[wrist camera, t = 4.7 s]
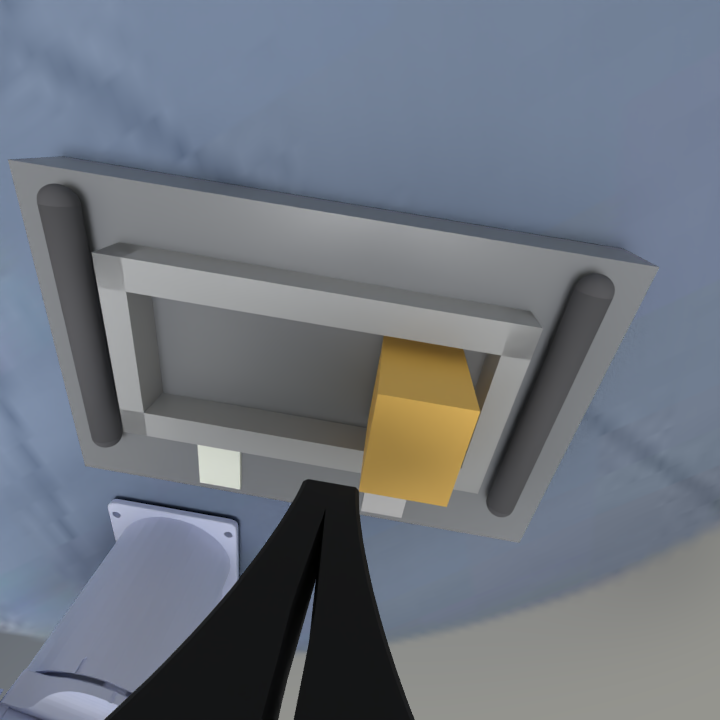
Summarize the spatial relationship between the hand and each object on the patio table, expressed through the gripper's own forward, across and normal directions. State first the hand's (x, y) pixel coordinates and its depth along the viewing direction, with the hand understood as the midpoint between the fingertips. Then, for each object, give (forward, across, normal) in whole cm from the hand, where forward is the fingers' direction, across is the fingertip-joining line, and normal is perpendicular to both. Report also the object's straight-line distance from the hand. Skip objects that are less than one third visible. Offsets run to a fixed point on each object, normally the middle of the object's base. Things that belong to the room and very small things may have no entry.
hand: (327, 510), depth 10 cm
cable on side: (+7, +11, 0) cm, 13 cm away
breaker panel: (+9, +2, +1) cm, 10 cm away
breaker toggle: (+7, -2, 0) cm, 7 cm away
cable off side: (+7, -7, 0) cm, 10 cm away
